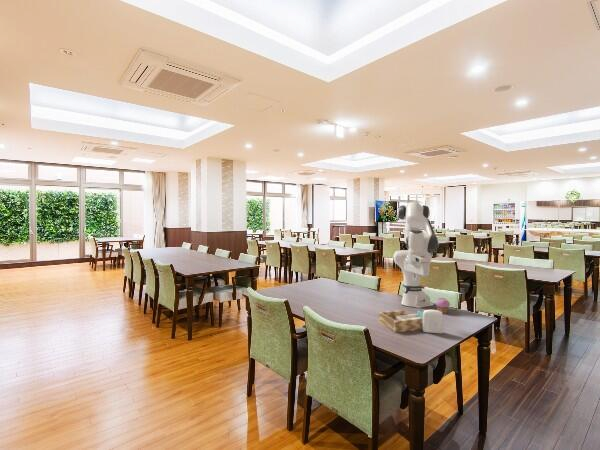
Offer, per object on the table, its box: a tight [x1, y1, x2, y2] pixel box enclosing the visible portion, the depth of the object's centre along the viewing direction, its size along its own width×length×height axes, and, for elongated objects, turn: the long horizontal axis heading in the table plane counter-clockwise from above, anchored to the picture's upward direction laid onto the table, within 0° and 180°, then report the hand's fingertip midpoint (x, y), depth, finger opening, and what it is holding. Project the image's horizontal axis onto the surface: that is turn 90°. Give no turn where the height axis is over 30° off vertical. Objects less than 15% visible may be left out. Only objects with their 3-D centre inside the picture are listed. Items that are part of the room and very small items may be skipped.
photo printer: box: [422, 309, 444, 335], centre depth 174 cm, size 10×4×12 cm, turn 77°
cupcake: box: [434, 297, 451, 314], centre depth 208 cm, size 9×9×10 cm
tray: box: [395, 309, 424, 321], centre depth 186 cm, size 17×14×4 cm
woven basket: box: [377, 309, 423, 333], centre depth 184 cm, size 18×18×6 cm
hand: (415, 280), depth 187 cm, fingers closed
